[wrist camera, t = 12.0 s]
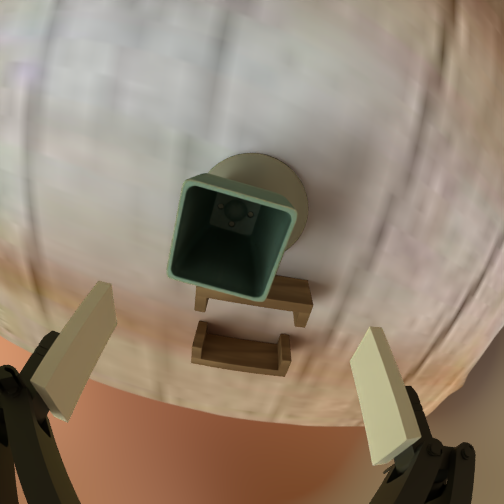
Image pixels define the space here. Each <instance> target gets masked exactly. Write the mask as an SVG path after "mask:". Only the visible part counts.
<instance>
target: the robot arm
mask: <svg viewBox="0 0 504 504" xmlns="http://www.w3.org/2000/svg"><path fill="white" fill-rule="evenodd" d="M116 326H117V319H116V313H115V306H114V299H113V292H112V284H110V283H106V282H102V281H98V282H97V283H96V285H95V286H94V287H93V289H92V290H91V291H90V293H89V294H88V295H87V297H86V298H85V299H84V301H83V302H82V303H81V305H80V306H79V307H78V309H77V310H76V311H75V313H74V314H73V316H72V317H71V318H70V320H69V321H68V323H67V324H66V325H65V327H64V328H63V330H62V331H61V333H58V332H55V331H51V332H50V333H48V334H47V335H46V336H44V338H43V339H42V340H41V342H40V343H39V346H37V348H36V349H35V351H34V353H33V354H32V355H31V357H30V358H29V360H28V361H27V363H26V364H25V366H24V367H23V369H22V371H21V372H20V374H19V373H18V371H17V370H16V369H15V368H14V367H13V366H11V365H3V366H0V504H19V502H18V496H17V488H16V480H15V468H14V463H15V467H16V470H17V474H18V477H19V480H20V483H21V486H22V489H23V491H24V495H25V497H26V500H27V503H28V504H81V503H80V501H79V499H78V497H77V495H76V493H75V490H74V488H73V486H72V484H71V481H70V479H69V477H68V474H67V472H66V469H65V467H64V464H63V462H62V459H61V456H60V453H59V450H58V448H57V445H56V442H55V439H54V435H53V432H52V429H51V426H50V422H49V419H48V417H47V414H48V412H49V410H50V411H51V413H52V414H53V416H55V417H57V418H59V419H61V420H63V421H65V422H68V421H69V419H70V417H71V415H72V413H73V410H74V408H75V406H76V404H77V402H78V399H79V397H80V395H81V393H82V391H83V389H84V387H85V385H86V383H87V381H88V379H89V377H90V375H91V373H92V371H93V369H94V367H95V365H96V363H97V361H98V359H99V357H100V355H101V353H102V351H103V349H104V348H105V346H106V344H107V342H108V340H109V338H110V336H111V335H112V333H113V331H114V329H115V327H116ZM350 364H351V368H352V372H353V376H354V380H355V384H356V389H357V393H358V397H359V401H360V406H361V410H362V415H363V419H364V424H365V429H366V434H367V439H368V444H369V448H370V454H371V459H372V465H373V466H374V465H380V464H386V463H388V462H389V461H391V460H392V459H394V462H395V464H393V465H392V466H390V467H389V468H387V469H386V470H385V471H384V472H383V473H384V474H385V473H386V472H388V471H389V472H388V474H387V476H386V477H385V479H384V481H383V483H382V484H381V486H380V487H379V489H378V491H377V492H376V494H375V495H374V497H373V498H372V500H371V502H370V503H369V504H471V499H472V491H473V483H474V472H475V450H474V448H473V446H472V445H470V444H469V443H466V442H463V443H461V444H460V445H458V446H457V447H447V446H443V445H442V443H441V442H440V441H439V440H438V439H435V438H432V435H431V433H430V429H429V426H428V423H427V420H426V417H425V414H424V411H422V410H423V409H422V406H421V404H420V400H419V397H418V395H417V393H416V392H415V390H414V389H413V388H412V387H411V386H405V385H404V383H403V380H402V377H401V374H400V372H399V369H398V366H397V364H396V361H395V359H394V356H393V354H392V351H391V349H390V346H389V344H388V341H387V339H386V336H385V334H384V332H383V329H382V328H381V327H369V329H368V330H367V332H366V334H365V336H364V338H363V339H362V341H361V343H360V345H359V346H358V348H357V350H356V352H355V353H354V355H353V357H352V358H351V360H350ZM446 481H447V484H446Z"/></svg>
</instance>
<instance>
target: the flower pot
mask: <svg viewBox="0 0 504 504" xmlns="http://www.w3.org/2000/svg"><path fill="white" fill-rule="evenodd" d="M219 204H223V208H219V207H218V205H219ZM249 212H252V213H253V216H251V217H250V216H249V215H248V213H249ZM297 218H298V212H297V210H296V209H295V208H294V207H293V206H292V204H291V203H290V202H289V201H288V200H287V199H286V198H285V197H284V196H283V195H281V194H278V193H276V192H272V191H269V190H265V189H262V188H258V187H255V186H251V185H248V184H244V183H241V182H237V181H234V180H230V179H227V178H223V177H220V176H216V175H213V174H208V173H204V174H200V175H197V176H195V177H192V178H190V179H187V180H185V181H184V183H183V186H182V190H181V195H180V200H179V205H178V211H177V216H176V222H175V227H174V233H173V238H172V243H171V248H170V253H169V259H168V265H167V276H168V277H169V278H171V279H174V280H177V281H181V282H184V283H188V284H192V285H196V286H200V287H204V288H207V289H211V290H215V291H219V292H222V293H226V294H230V295H234V296H238V297H241V298H245V299H248V300H252V301H257V302H263V301H265V300H266V298H267V296H268V293H269V290H270V288H271V285H272V283H273V280H274V277H275V275H276V272H277V269H278V267H279V264H280V262H281V259H282V257H283V254H284V251H285V249H286V246H287V244H288V241H289V239H290V236H291V234H292V231H293V229H294V227H295V224H296V222H297ZM230 222H234V225H233V226H230V225H229V223H230Z"/></svg>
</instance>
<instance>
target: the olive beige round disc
mask: <svg viewBox="0 0 504 504" xmlns="http://www.w3.org/2000/svg"><path fill="white" fill-rule="evenodd" d="M208 174H213V175H216V176H220V177H223V178H227V179H230V180H234V181H237V182H241V183H244V184H248V185H251V186H255V187H258V188H262V189H265V190H269V191H272V192H276V193H278V194H281V195H283V196H284V197H285V198H286V199H287V200H288V201H289V202H290V203H291V204H292V206H293V207H294V208H295V209H296V210H297V212H298V218H297V222H296V224H295V227H294V229H293V231H292V234H291V236H290V239H289V241H288V244H287V246H286V249H285V251H286V250H287V249H288V248H290V247H291V246H292V245H293V244H294V243H295V242H296V241H297V239H298V238H299V236H300V235H301V233H302V231H303V229H304V227H305V224H306V221H307V216H308V200H307V196H306V192H305V190H304V187H303V185H302V183H301V181H300V180H299V178H298V177H297V175H296V174H295V173H294V172H293V171H292V170H291V169H290V168H289V167H288V166H287V165H286V164H284V163H283V162H281V161H279V160H278V159H276V158H273V157H271V156H268V155H264V154H257V153H245V154H238V155H235V156H232V157H229V158H227V159H225V160H223V161H221V162H220V163H218V164H217V165H216V166H215V167H213V168H212V169H211V170H210V171H209V172H208ZM218 207H219V208H223V204H219V205H218ZM248 215H249V216H250V217H251V216H253V213H252V212H249V213H248ZM229 225H230V226H233V225H234V222H230V223H229Z"/></svg>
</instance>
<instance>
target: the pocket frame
mask: <svg viewBox="0 0 504 504" xmlns="http://www.w3.org/2000/svg"><path fill="white" fill-rule="evenodd" d="M209 298H212V299H217V300H223V301H229V302H235V303H241V304H247V305H253V306H259V307H266V308H273V309H279V310H286V311H293V315H294V324H295V327H303V328H305V326H306V324H307V321H308V318H309V316H310V313H311V310H312V308H313V302H312V297H311V293H310V288H309V284H308V280H302V279H296V278H290V277H284V276H278V275H275V277H274V280H273V283H272V285H271V288H270V290H269V293H268V296H267V298H266V300H265V301H263V302H257V301H252V300H248V299H245V298H241V297H238V296H234V295H230V294H226V293H222V292H219V291H215V290H211V289H207V288H204V287H200V286H196V297H195V311H200V312H205V311H206V307H207V303H208V299H209ZM207 324H208V322H202V321H199V323H198V327H197V330H196V334H195V338H194V341H193V345H192V358H191V363H194V364H199V365H205V366H210V367H216V368H222V369H228V370H235V371H242V372H249V373H256V374H265V375H273V376H283V377H285V375H286V373H287V371H288V368H289V366H290V363H291V351H290V340H289V335H285V334H281V335H280V338H279V341H278V344H272V343H264V342H257V341H250V340H244V339H237V338H231V337H225V336H219V335H214V334H208V333H207Z"/></svg>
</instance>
